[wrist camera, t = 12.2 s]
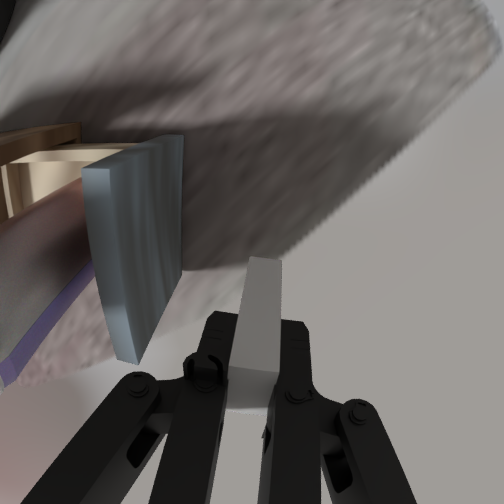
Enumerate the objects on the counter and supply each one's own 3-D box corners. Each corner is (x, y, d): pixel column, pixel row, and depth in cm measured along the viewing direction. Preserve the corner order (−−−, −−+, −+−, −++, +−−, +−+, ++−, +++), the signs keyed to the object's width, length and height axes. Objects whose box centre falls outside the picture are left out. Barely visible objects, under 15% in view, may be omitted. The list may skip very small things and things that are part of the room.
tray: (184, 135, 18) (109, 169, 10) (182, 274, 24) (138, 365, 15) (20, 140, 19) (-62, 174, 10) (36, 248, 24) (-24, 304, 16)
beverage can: (139, 250, 21) (25, 417, 8) (77, 239, 21) (-44, 367, 8) (138, 173, 18) (-41, 315, 5) (70, 168, 18) (-93, 274, 5)
